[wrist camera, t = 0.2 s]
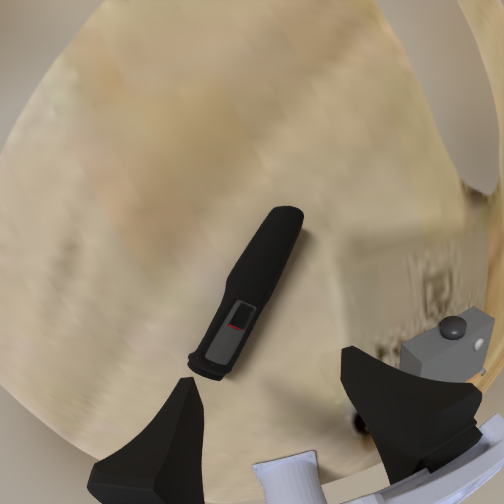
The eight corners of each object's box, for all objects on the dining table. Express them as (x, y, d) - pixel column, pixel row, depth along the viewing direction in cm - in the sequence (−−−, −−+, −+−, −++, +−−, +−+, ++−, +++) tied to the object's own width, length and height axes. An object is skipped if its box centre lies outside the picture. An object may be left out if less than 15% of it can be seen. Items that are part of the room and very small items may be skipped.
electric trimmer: (309, 217, 21) (324, 222, 18) (223, 373, 24) (224, 396, 21) (267, 194, 21) (275, 195, 18) (184, 359, 23) (180, 381, 20)
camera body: (464, 356, 28) (483, 372, 23) (396, 394, 27) (414, 417, 23) (474, 299, 25) (499, 312, 21) (402, 335, 25) (426, 358, 20)
